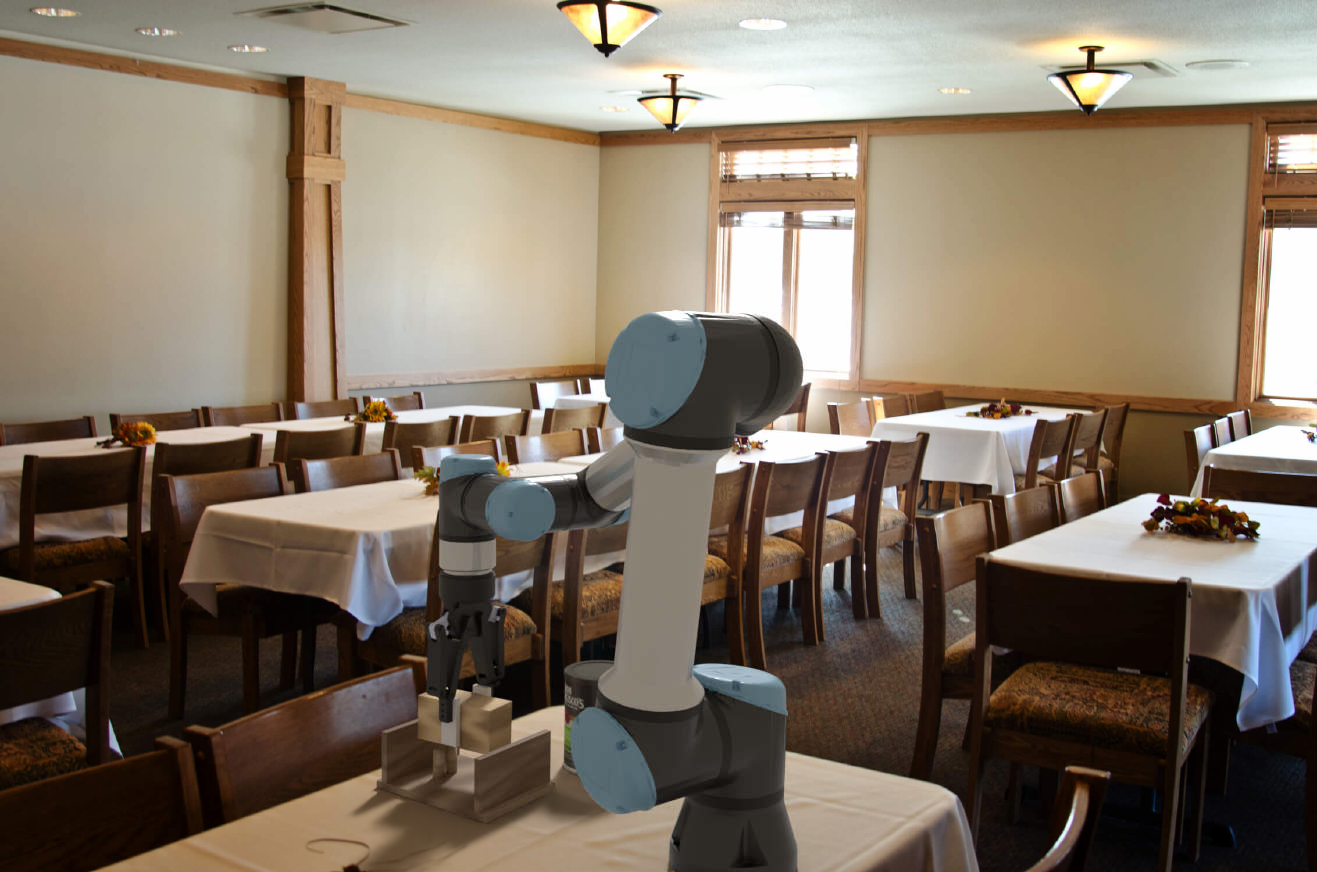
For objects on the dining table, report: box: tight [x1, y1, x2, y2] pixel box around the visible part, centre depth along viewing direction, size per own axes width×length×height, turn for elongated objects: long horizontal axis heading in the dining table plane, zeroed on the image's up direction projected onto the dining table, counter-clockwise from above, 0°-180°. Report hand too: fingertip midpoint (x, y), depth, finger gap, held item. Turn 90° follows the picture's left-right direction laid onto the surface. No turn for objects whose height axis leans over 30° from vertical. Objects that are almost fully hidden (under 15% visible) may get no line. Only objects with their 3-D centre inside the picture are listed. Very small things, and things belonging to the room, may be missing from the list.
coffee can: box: [562, 659, 615, 776], centre depth 170 cm, size 10×10×14 cm
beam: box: [417, 687, 513, 755], centre depth 160 cm, size 12×5×6 cm, turn 62°
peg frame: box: [376, 718, 557, 824], centre depth 160 cm, size 20×14×8 cm
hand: (466, 737), depth 160 cm, fingers closed on beam, 5 cm apart
